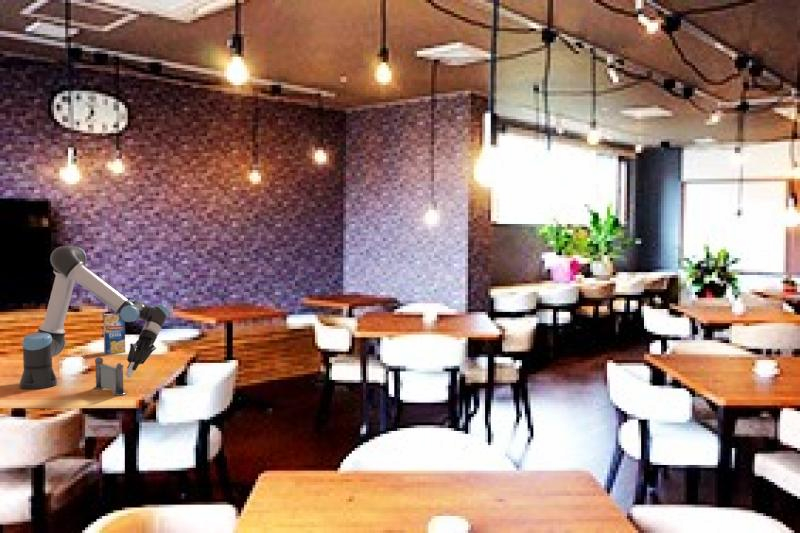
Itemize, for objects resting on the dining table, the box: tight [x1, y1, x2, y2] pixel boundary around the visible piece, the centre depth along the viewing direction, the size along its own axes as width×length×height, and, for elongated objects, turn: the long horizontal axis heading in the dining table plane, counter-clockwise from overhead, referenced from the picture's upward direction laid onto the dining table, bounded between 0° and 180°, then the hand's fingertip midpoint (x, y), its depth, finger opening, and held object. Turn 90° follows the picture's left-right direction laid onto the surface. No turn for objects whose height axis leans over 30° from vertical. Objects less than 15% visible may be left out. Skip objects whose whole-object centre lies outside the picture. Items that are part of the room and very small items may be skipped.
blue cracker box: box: [102, 313, 126, 355], centre depth 410 cm, size 7×11×22 cm, turn 118°
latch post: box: [112, 362, 128, 397], centre depth 305 cm, size 6×5×14 cm
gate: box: [100, 363, 118, 392], centre depth 310 cm, size 14×2×10 cm, turn 49°
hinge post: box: [93, 356, 104, 390], centre depth 316 cm, size 5×5×14 cm
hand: (127, 375), depth 319 cm, fingers closed
